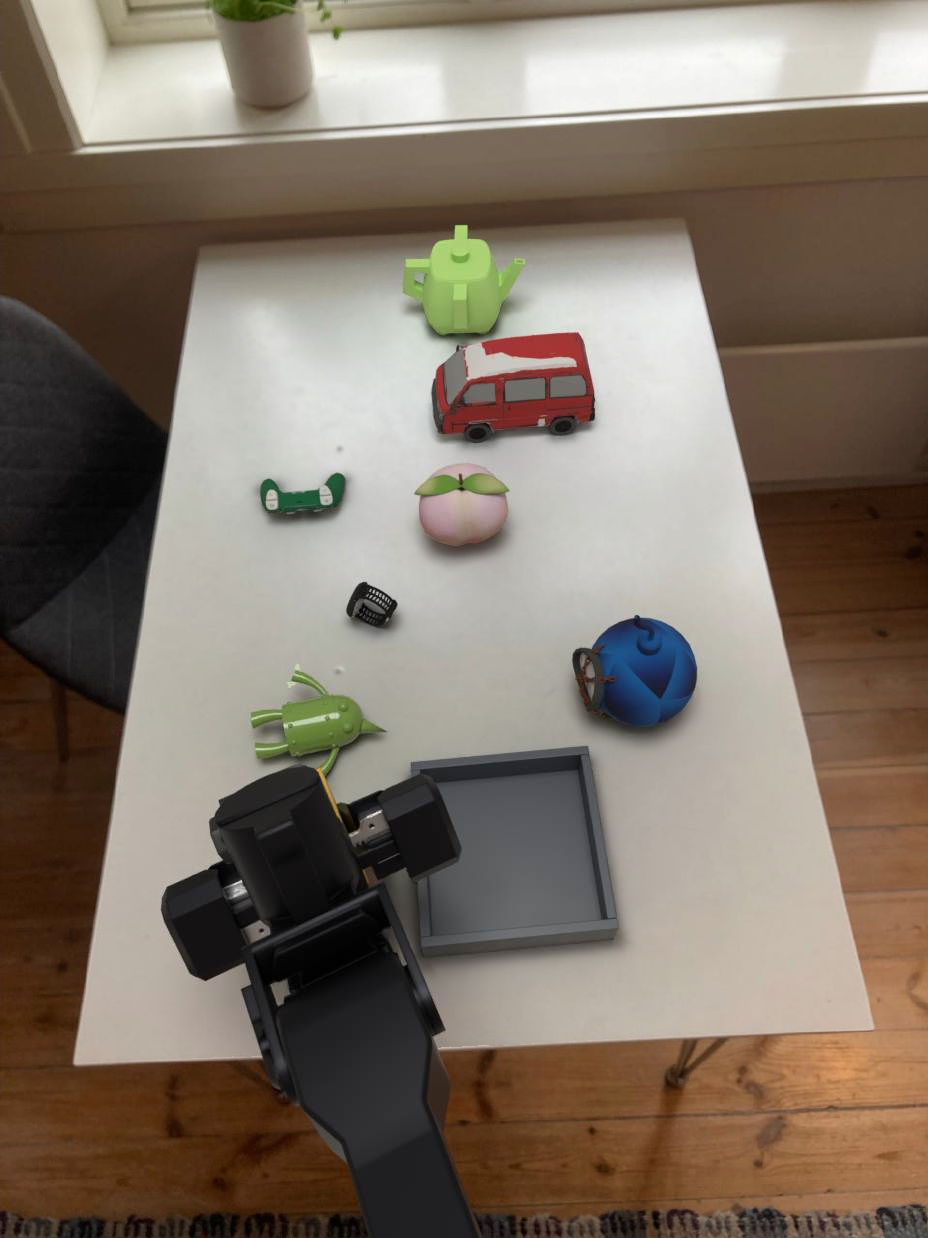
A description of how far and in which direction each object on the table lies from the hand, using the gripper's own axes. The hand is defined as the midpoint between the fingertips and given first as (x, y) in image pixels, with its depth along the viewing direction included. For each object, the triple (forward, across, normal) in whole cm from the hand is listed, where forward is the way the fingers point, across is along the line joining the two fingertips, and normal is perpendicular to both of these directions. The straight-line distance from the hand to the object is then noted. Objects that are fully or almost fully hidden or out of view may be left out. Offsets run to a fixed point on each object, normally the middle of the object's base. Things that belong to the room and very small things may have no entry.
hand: (303, 825), depth 67 cm
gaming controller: (+38, -12, -19) cm, 44 cm away
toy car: (+38, -38, -20) cm, 57 cm away
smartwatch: (+25, -13, -6) cm, 29 cm away
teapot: (+51, -40, -32) cm, 73 cm away
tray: (+6, -14, +13) cm, 20 cm away
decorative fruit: (+30, -26, -10) cm, 41 cm away
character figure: (+19, -4, 0) cm, 19 cm away
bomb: (+12, -32, +7) cm, 35 cm away
